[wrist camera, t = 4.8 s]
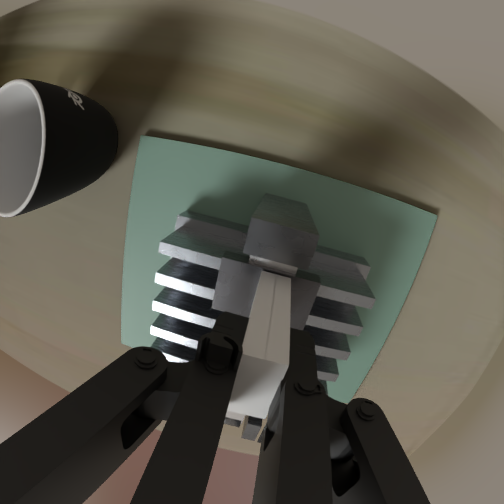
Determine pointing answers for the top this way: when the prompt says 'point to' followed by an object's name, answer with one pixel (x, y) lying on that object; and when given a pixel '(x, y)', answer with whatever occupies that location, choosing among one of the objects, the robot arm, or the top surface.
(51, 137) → the mug
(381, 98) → the top surface
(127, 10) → the top surface
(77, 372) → the top surface
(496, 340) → the top surface
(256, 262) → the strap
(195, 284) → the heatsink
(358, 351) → the board
